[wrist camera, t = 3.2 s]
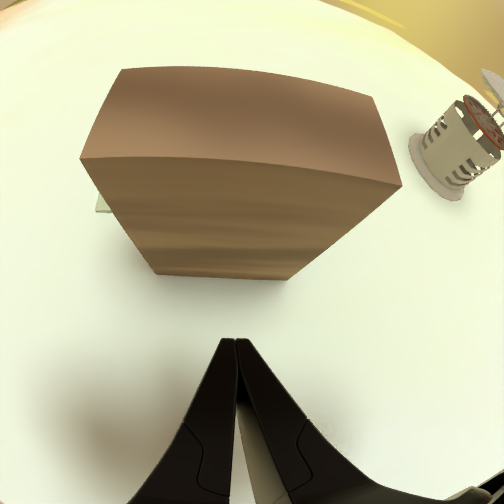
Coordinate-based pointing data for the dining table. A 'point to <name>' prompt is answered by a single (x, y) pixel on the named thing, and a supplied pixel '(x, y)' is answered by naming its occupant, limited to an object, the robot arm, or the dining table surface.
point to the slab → (236, 168)
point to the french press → (460, 143)
